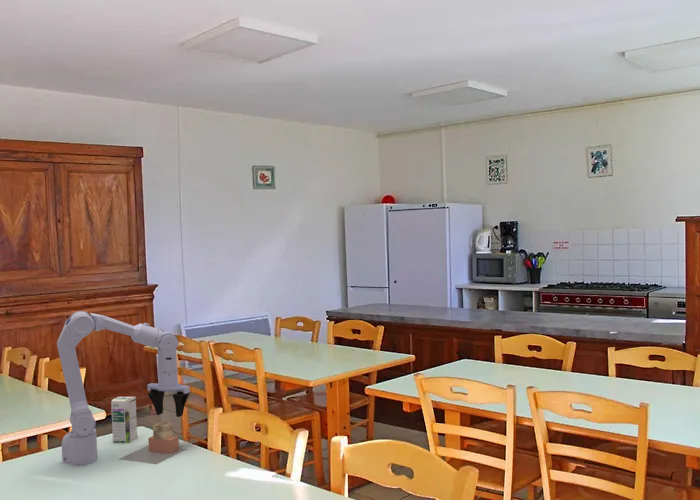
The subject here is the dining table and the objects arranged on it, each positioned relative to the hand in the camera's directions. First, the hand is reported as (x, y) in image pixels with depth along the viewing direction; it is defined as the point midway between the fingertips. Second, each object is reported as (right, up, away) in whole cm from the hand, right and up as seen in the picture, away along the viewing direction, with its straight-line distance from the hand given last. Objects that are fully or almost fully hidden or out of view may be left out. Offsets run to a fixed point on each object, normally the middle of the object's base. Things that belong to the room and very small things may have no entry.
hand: (169, 415), depth 203 cm
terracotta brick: (-1, -10, -4) cm, 10 cm away
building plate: (-3, -11, -7) cm, 13 cm away
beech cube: (-1, -6, -4) cm, 7 cm away
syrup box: (-16, -11, +7) cm, 21 cm away
